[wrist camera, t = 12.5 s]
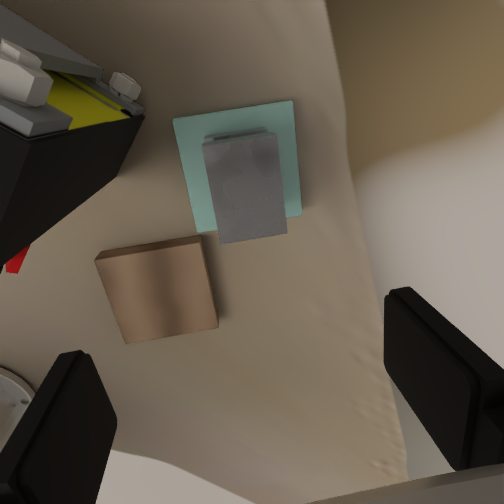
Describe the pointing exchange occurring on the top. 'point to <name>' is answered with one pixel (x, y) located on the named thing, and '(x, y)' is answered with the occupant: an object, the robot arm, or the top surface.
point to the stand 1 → (159, 289)
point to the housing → (245, 184)
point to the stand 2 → (199, 126)
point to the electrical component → (54, 132)
